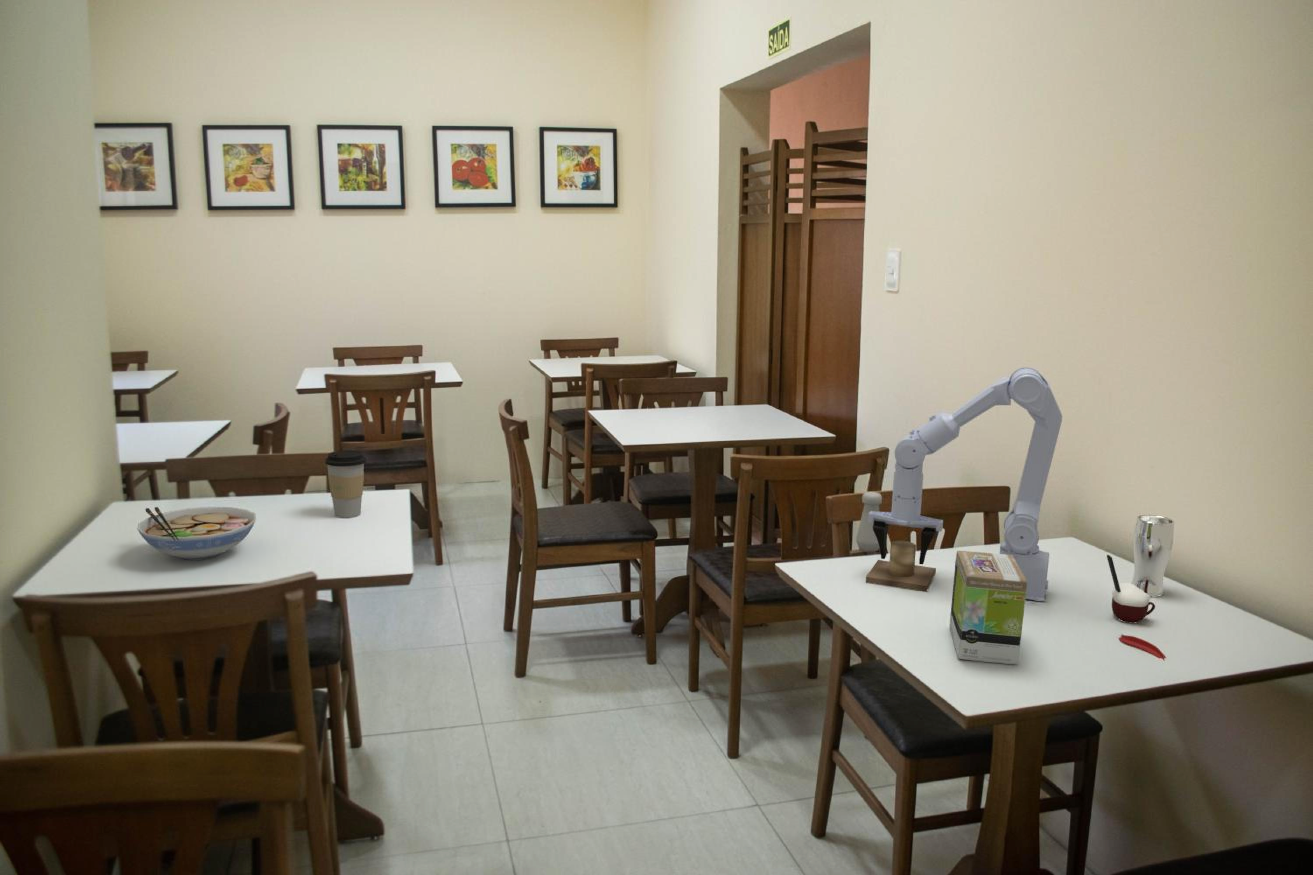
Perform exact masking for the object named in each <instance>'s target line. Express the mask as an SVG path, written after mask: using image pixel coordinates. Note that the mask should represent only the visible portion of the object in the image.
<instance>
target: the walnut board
mask: <svg viewBox="0 0 1313 875" xmlns="http://www.w3.org/2000/svg"><path fill="white" fill-rule="evenodd" d="M889 562H890V560H884V559H883V560H882V559H877V561H876V562H875V564H874V565H873V566H872V568H871V569H870V571H869V572H868V574H866V577H865V583H866V584H874V585H881V586H885V587H887V586H888V587H894V588H900V589H906V590H913V591H920V592H925V593H926V592H927V591H928V589H929V588H930V585H932V584H931V583H932V581H933V580H934V578H935V576H936V573H937V568H936V567H930V566H923V565H917V564H916V565H915V567H914V575H913V576H910V577H899V576H895V575H892V574H890V573H889Z"/></svg>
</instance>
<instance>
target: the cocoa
mask: <svg viewBox="0 0 1313 875" xmlns="http://www.w3.org/2000/svg"><path fill="white" fill-rule="evenodd" d="M1106 560H1107V562H1108V567H1109V570H1110V574H1111V578H1112V580H1113V585H1114V586H1113V590H1112V592H1111V594H1112V597H1111V609H1112V614H1113V615H1114V616H1115V617H1116V618H1117V619H1118V620H1119V619H1120V620H1119V621H1121V620H1122V622H1124V621H1125V622H1124V623H1129V622H1131V624H1135V622H1137V623H1139V622H1141V621H1144V619H1145V618H1146V617H1147V616H1149V615H1150V614H1152V613H1153V612H1154V610H1155V608H1156V604H1155V603H1154V602H1152V601H1150V599H1151V597H1150V596H1149V595H1148V594H1146V593H1145V592H1144V591H1143V590H1141V589H1139V588H1138V587H1136V586H1135V585H1133V584H1131V583H1132V582H1119V579H1118V575H1117V572H1116V571H1117V570H1116V568H1115V564H1114V563H1115V562H1114V560H1113V557H1112V556H1111V555H1109V554H1107V555H1106ZM1150 605H1151V608H1150V609H1149V606H1150Z"/></svg>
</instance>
